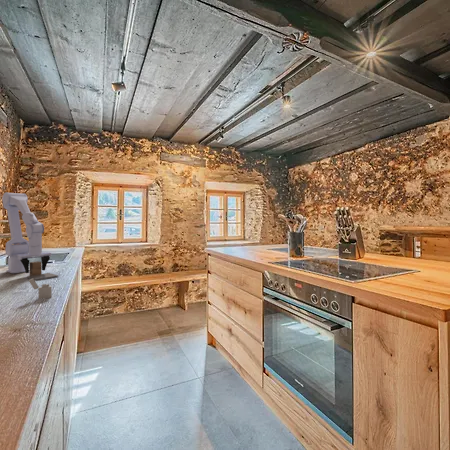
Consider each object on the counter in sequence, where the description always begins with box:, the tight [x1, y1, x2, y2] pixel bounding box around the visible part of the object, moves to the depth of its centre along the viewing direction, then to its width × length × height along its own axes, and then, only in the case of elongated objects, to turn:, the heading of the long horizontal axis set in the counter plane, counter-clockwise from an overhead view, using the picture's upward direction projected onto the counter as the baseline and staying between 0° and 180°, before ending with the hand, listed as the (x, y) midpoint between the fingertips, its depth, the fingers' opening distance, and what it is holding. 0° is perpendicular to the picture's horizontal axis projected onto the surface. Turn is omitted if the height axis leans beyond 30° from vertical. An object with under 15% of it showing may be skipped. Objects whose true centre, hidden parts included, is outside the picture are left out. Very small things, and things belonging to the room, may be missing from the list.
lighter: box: [28, 278, 53, 300], centre depth 101 cm, size 7×2×8 cm, turn 121°
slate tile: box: [26, 272, 59, 282], centre depth 134 cm, size 10×10×1 cm
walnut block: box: [29, 261, 43, 276], centre depth 138 cm, size 4×4×7 cm
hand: (35, 271), depth 138 cm, fingers open, 7 cm apart
